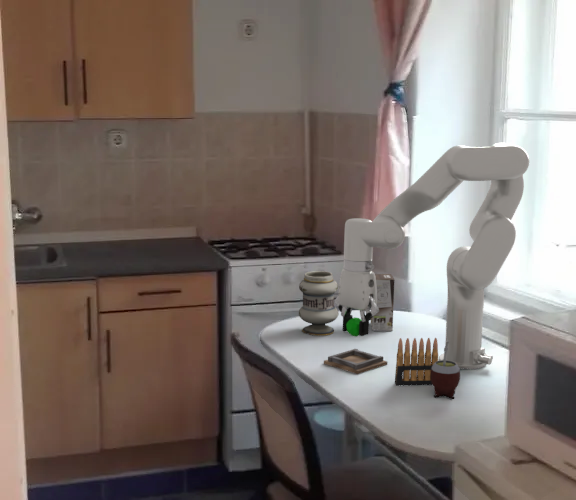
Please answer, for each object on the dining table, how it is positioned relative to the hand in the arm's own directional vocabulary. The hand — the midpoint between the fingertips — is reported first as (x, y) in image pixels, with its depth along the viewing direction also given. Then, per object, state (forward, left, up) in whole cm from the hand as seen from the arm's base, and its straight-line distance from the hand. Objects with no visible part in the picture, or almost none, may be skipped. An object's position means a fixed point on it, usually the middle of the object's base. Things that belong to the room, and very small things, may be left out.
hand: (355, 332), depth 227 cm
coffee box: (+19, -34, -9) cm, 40 cm away
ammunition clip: (-21, +1, -9) cm, 23 cm away
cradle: (0, 0, -9) cm, 9 cm away
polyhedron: (0, 0, -1) cm, 1 cm away
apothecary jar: (+29, -16, -9) cm, 34 cm away
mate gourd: (-31, +3, -9) cm, 33 cm away
